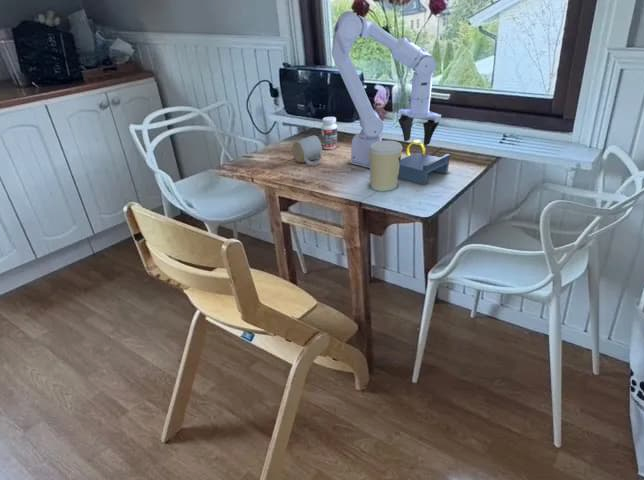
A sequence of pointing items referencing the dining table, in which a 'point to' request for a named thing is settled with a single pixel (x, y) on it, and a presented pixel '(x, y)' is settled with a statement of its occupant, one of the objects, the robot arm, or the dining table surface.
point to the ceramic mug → (308, 150)
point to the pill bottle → (329, 133)
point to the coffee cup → (384, 164)
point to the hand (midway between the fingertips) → (416, 142)
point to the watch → (417, 142)
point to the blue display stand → (422, 166)
